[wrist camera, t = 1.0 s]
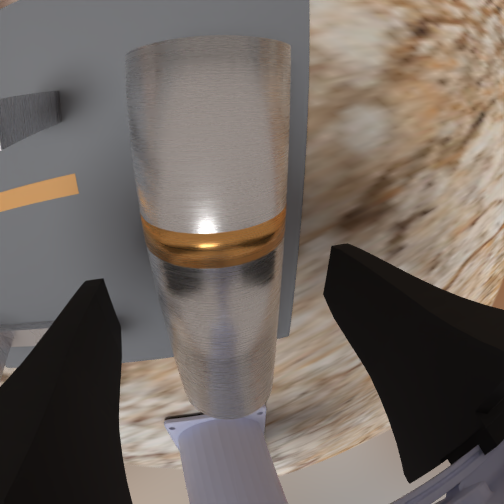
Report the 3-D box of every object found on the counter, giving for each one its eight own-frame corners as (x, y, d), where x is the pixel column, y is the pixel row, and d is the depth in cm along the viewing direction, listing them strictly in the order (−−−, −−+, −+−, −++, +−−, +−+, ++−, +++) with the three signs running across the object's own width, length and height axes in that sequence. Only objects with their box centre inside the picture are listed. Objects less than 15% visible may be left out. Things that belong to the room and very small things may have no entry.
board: (285, 329, 17) (288, 336, 17) (9, 360, 13) (7, 367, 13) (302, -26, 8) (308, -30, 7) (-85, 70, 4) (-92, 71, 3)
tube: (258, 342, 16) (284, 407, 13) (179, 356, 15) (190, 427, 12) (262, 55, 9) (321, 42, 5) (134, 63, 8) (110, 46, 4)
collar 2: (118, 332, 13) (114, 410, 10) (-1, 340, 12) (-22, 404, 8) (110, 314, 13) (103, 395, 9) (-11, 325, 11) (-35, 389, 7)
